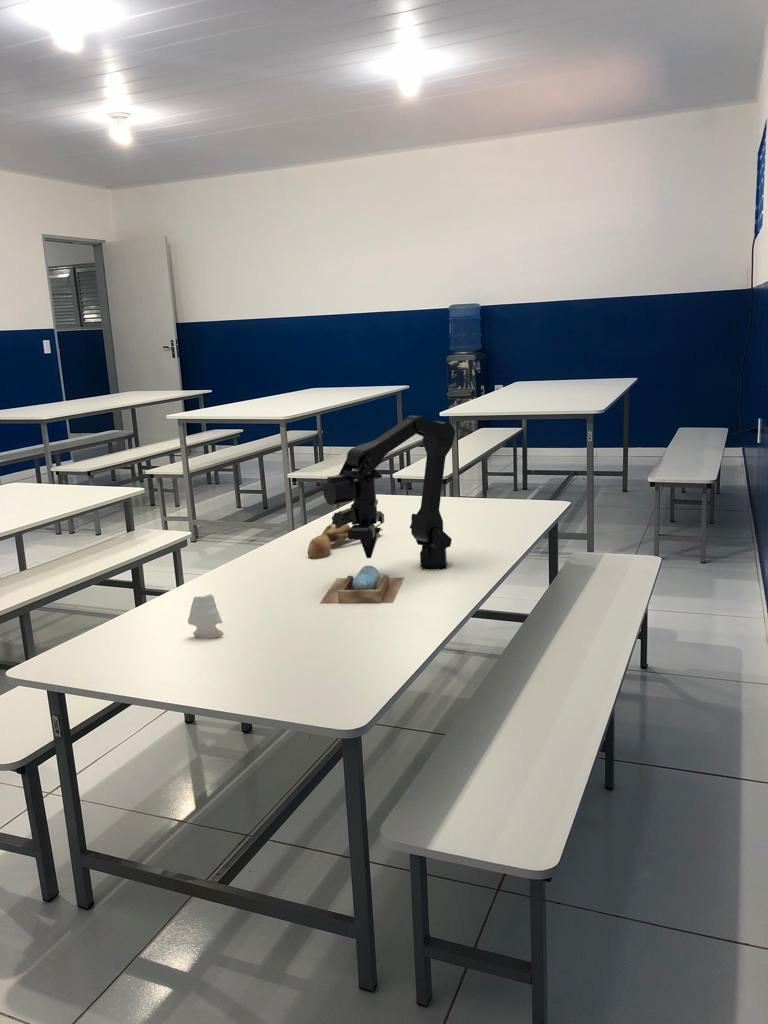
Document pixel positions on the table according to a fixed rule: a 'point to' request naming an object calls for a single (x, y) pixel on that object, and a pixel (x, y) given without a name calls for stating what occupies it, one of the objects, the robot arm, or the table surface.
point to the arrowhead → (205, 616)
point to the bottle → (366, 578)
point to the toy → (328, 540)
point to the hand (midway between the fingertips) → (369, 557)
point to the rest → (362, 591)
